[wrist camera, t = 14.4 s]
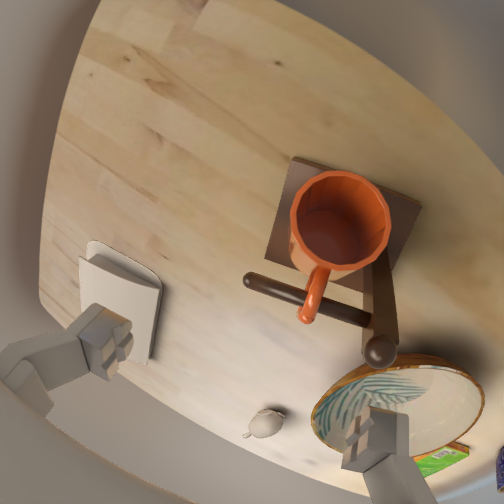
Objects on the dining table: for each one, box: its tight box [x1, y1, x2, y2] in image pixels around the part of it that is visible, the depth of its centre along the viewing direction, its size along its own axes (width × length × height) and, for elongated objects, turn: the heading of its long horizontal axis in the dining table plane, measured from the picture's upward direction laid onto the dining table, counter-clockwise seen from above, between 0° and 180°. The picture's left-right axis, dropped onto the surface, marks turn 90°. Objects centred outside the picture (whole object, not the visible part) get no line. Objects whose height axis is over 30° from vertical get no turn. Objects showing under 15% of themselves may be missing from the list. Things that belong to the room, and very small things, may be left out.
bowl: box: [311, 353, 485, 457], centre depth 39 cm, size 25×25×8 cm
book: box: [79, 240, 163, 365], centre depth 50 cm, size 15×23×4 cm, turn 160°
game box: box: [413, 442, 469, 478], centre depth 50 cm, size 3×10×20 cm
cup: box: [288, 171, 391, 324], centre depth 24 cm, size 10×7×8 cm
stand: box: [243, 157, 422, 369], centre depth 26 cm, size 12×14×18 cm
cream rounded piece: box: [242, 409, 286, 438], centre depth 54 cm, size 6×5×12 cm
